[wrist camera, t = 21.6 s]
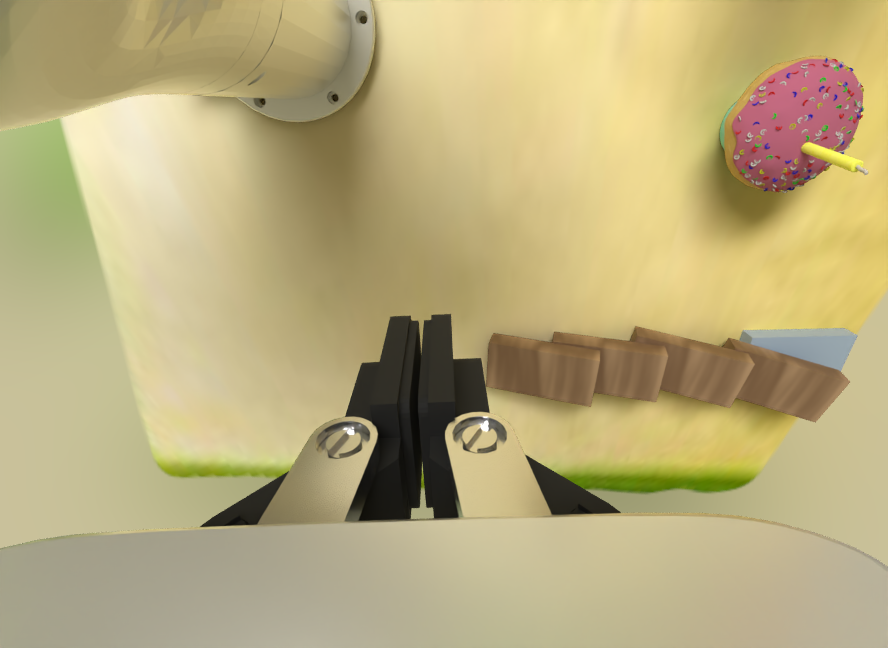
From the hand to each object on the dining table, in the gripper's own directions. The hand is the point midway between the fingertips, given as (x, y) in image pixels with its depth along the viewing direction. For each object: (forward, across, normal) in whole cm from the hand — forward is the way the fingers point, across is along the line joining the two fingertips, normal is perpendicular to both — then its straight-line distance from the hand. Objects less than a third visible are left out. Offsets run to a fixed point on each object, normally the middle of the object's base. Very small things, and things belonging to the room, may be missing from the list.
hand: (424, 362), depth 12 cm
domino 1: (+26, -4, +16) cm, 31 cm away
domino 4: (+27, -30, +17) cm, 43 cm away
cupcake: (+27, -25, -4) cm, 37 cm away
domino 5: (+25, -27, +17) cm, 41 cm away
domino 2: (+26, -11, +16) cm, 33 cm away
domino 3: (+26, -18, +16) cm, 36 cm away
